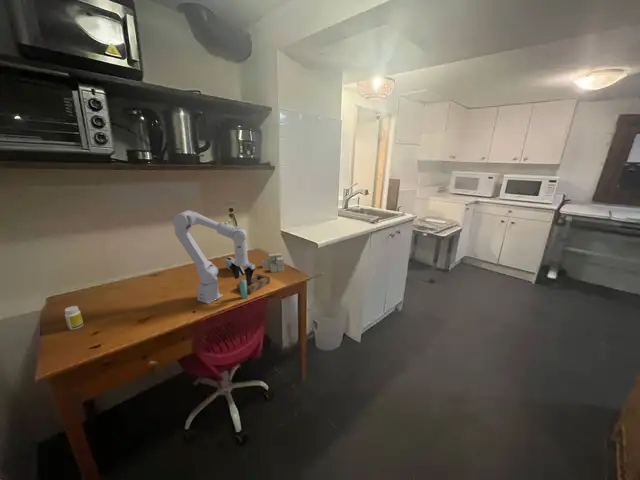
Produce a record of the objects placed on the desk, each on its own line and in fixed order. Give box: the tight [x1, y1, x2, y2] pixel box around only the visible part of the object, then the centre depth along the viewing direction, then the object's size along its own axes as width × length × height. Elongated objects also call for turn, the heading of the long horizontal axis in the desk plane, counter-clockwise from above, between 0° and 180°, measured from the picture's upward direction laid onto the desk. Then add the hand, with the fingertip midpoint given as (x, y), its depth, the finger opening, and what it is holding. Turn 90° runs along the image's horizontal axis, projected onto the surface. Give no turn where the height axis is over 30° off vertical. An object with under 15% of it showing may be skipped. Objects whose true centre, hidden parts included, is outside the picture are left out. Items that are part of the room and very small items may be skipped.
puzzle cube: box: [261, 252, 285, 273], centre depth 174 cm, size 12×12×8 cm
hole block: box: [236, 273, 271, 295], centre depth 149 cm, size 16×9×4 cm, turn 152°
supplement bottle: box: [64, 305, 84, 331], centre depth 112 cm, size 5×5×8 cm
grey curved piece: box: [223, 256, 245, 277], centre depth 168 cm, size 17×5×10 cm, turn 44°
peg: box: [239, 279, 248, 300], centre depth 137 cm, size 3×3×9 cm
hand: (243, 280), depth 135 cm, fingers open, 7 cm apart
